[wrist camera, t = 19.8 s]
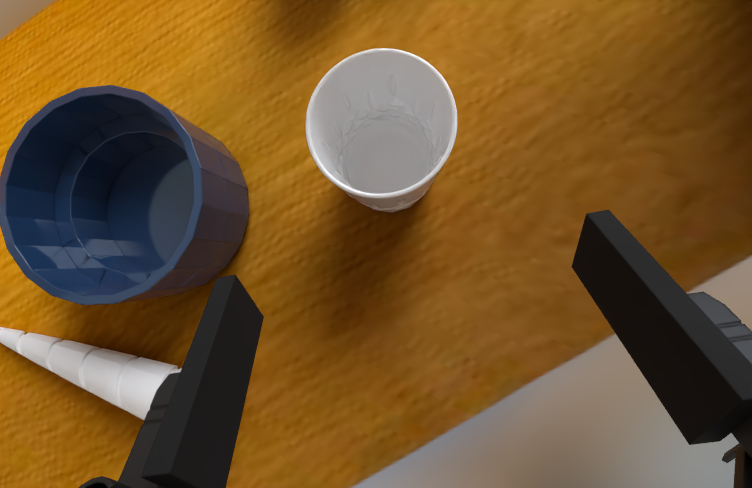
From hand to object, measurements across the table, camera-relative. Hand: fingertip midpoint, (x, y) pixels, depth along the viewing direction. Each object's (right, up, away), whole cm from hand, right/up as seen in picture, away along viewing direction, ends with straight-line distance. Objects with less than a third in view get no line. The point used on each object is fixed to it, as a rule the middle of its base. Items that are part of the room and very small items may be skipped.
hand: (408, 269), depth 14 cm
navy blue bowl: (-19, +4, +16) cm, 25 cm away
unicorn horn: (-23, -9, +16) cm, 29 cm away
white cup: (0, +7, +15) cm, 16 cm away
